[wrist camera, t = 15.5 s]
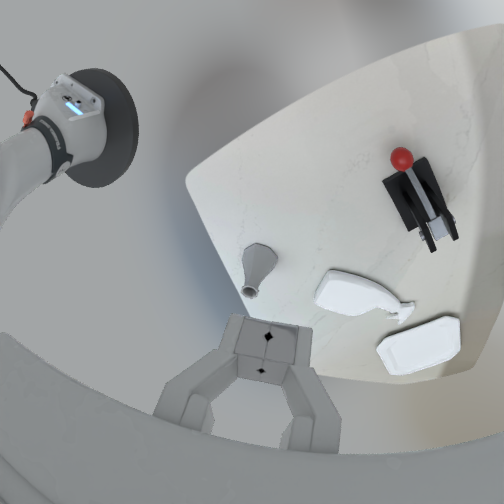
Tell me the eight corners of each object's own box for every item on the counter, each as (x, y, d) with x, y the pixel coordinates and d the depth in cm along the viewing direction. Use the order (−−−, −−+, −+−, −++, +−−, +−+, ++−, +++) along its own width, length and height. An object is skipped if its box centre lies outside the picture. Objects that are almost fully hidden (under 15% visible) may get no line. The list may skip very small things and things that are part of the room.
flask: (284, 256, 55) (277, 291, 47) (265, 276, 59) (255, 311, 51) (254, 237, 53) (242, 270, 46) (236, 259, 58) (223, 292, 50)
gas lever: (386, 156, 36) (385, 152, 33) (405, 146, 34) (405, 140, 31) (430, 240, 34) (432, 243, 31) (449, 230, 32) (453, 232, 29)
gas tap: (381, 180, 41) (401, 219, 31) (424, 156, 36) (456, 188, 26) (406, 228, 45) (425, 273, 35) (445, 207, 40) (473, 248, 30)
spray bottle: (330, 263, 53) (421, 294, 53) (310, 298, 60) (396, 322, 60) (330, 273, 51) (424, 303, 51) (309, 308, 58) (398, 331, 58)
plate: (371, 336, 65) (372, 343, 63) (456, 305, 53) (459, 311, 51) (391, 373, 75) (391, 379, 73) (459, 350, 62) (460, 355, 61)
